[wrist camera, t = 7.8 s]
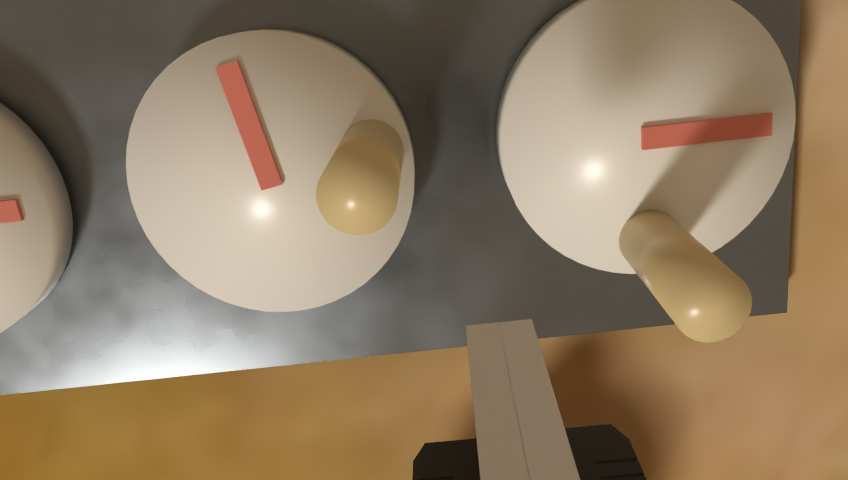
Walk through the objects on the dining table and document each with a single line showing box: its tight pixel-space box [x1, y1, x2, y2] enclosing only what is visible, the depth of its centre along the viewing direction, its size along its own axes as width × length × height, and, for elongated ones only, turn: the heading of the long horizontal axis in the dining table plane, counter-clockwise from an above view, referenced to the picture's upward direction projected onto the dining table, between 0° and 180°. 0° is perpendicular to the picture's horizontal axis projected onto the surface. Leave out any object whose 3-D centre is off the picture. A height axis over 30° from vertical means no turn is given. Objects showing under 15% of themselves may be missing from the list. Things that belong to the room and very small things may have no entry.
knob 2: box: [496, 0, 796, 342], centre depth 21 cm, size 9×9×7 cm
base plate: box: [0, 0, 802, 395], centre depth 25 cm, size 35×15×2 cm, turn 97°
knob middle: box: [126, 29, 415, 312], centre depth 21 cm, size 9×9×7 cm
